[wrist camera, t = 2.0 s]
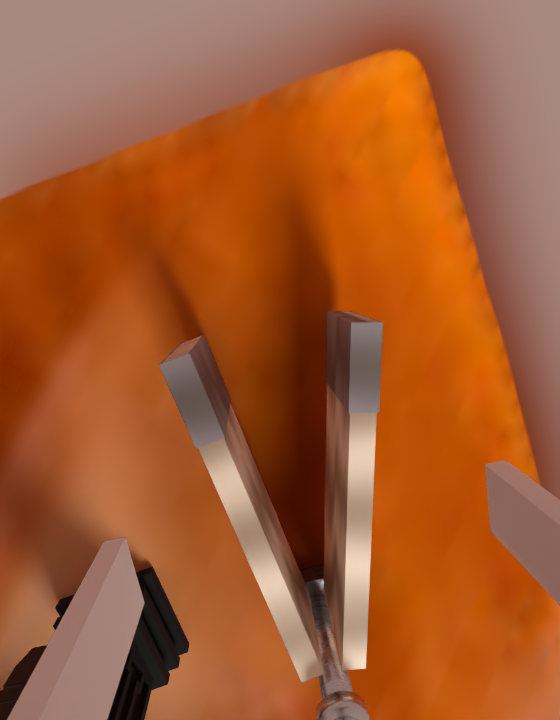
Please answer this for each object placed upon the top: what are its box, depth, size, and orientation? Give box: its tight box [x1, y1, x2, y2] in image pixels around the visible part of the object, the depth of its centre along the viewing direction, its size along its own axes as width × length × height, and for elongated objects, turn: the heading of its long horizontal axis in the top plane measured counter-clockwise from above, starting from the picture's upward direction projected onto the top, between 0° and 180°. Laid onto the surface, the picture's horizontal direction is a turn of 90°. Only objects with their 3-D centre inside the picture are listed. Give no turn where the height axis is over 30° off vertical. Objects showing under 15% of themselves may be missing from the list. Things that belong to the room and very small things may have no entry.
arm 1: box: [323, 311, 383, 670], centre depth 28 cm, size 22×2×7 cm, turn 0°
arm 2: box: [159, 335, 324, 682], centre depth 28 cm, size 22×2×7 cm, turn 20°
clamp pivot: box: [300, 565, 370, 720], centre depth 30 cm, size 5×5×11 cm
